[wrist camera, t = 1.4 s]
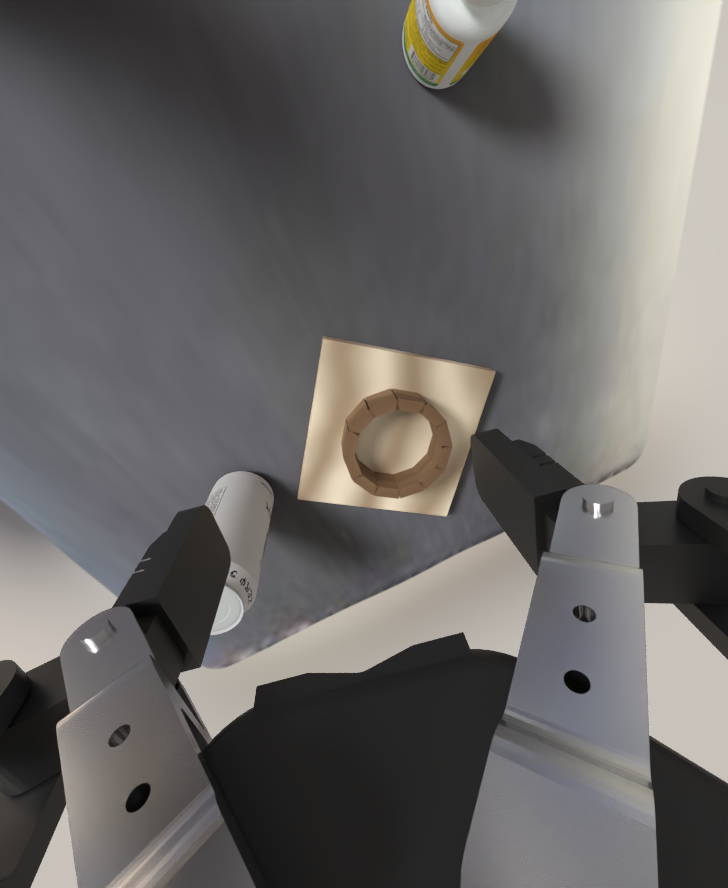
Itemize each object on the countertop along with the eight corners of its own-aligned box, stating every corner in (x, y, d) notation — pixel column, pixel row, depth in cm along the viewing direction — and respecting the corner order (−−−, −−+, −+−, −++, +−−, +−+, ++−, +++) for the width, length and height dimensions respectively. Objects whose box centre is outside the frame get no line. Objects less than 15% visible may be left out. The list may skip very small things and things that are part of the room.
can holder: (298, 491, 40) (296, 516, 36) (323, 335, 34) (323, 344, 30) (442, 508, 43) (455, 533, 39) (489, 368, 37) (510, 380, 33)
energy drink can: (259, 525, 41) (231, 651, 28) (204, 503, 39) (145, 626, 26) (285, 481, 39) (268, 593, 26) (228, 456, 38) (178, 562, 24)
